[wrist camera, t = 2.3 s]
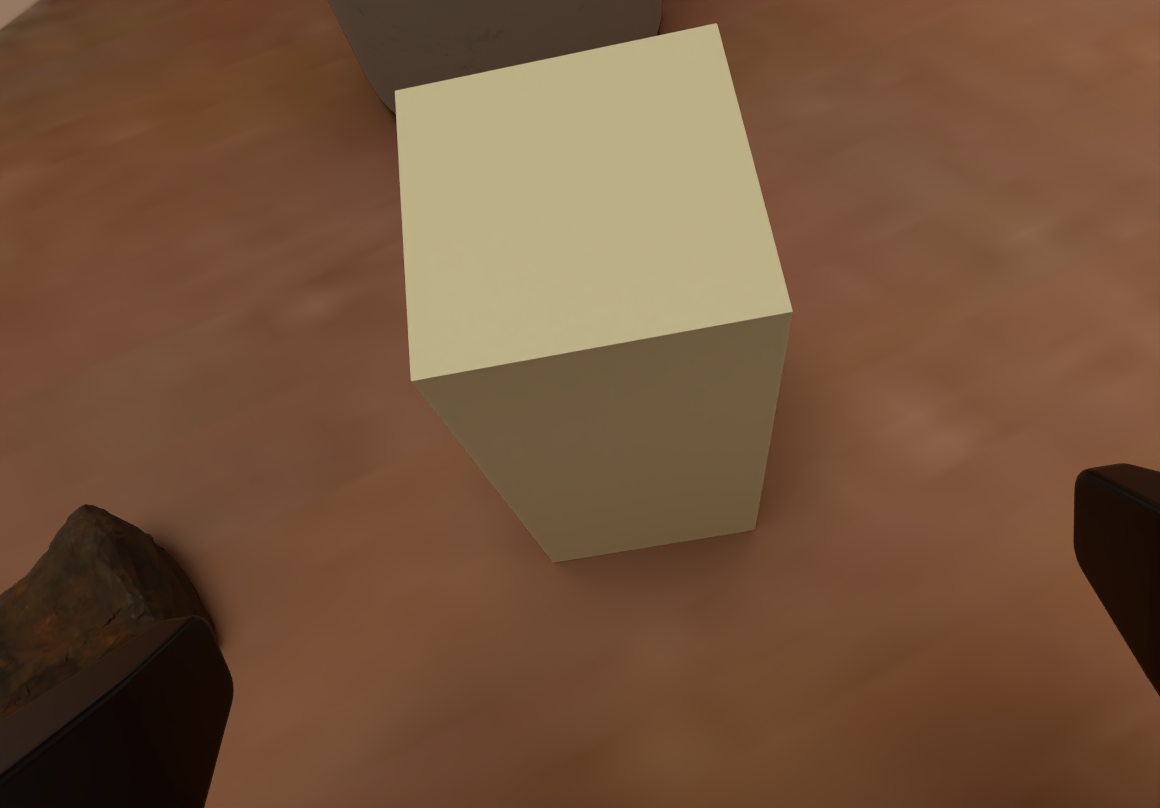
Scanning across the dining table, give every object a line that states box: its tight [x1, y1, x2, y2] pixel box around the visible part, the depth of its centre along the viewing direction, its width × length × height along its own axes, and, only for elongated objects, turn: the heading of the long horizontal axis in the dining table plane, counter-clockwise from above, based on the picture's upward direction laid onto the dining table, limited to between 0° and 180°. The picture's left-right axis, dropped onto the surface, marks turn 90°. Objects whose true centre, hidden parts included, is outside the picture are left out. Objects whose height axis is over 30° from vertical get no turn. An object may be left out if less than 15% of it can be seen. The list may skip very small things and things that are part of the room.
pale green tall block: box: [395, 23, 793, 563], centre depth 17 cm, size 5×5×11 cm
